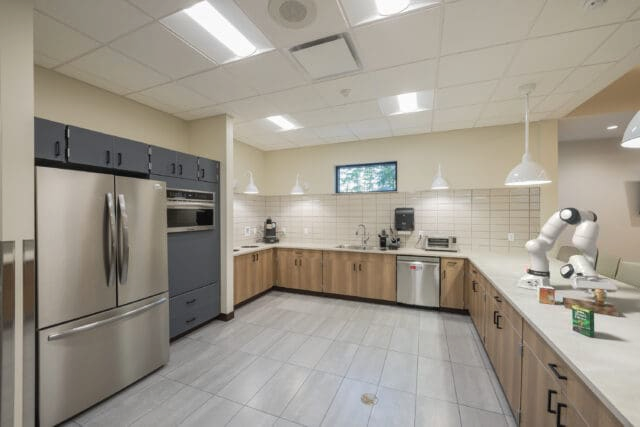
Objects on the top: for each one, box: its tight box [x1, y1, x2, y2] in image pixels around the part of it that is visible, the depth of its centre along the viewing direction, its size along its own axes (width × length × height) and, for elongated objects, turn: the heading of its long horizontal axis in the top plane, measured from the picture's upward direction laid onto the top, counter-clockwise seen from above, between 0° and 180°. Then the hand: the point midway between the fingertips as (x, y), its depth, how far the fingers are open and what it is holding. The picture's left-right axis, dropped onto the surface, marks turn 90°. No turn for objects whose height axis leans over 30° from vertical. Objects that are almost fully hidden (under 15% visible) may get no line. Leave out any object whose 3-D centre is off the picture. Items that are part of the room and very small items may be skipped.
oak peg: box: [594, 289, 605, 307], centre depth 152 cm, size 4×4×10 cm
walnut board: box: [562, 296, 620, 318], centre depth 155 cm, size 22×12×4 cm, turn 52°
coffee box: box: [571, 305, 595, 338], centre depth 125 cm, size 8×3×13 cm, turn 6°
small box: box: [536, 285, 556, 306], centre depth 166 cm, size 8×6×10 cm
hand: (600, 297), depth 151 cm, fingers closed on oak peg, 3 cm apart
